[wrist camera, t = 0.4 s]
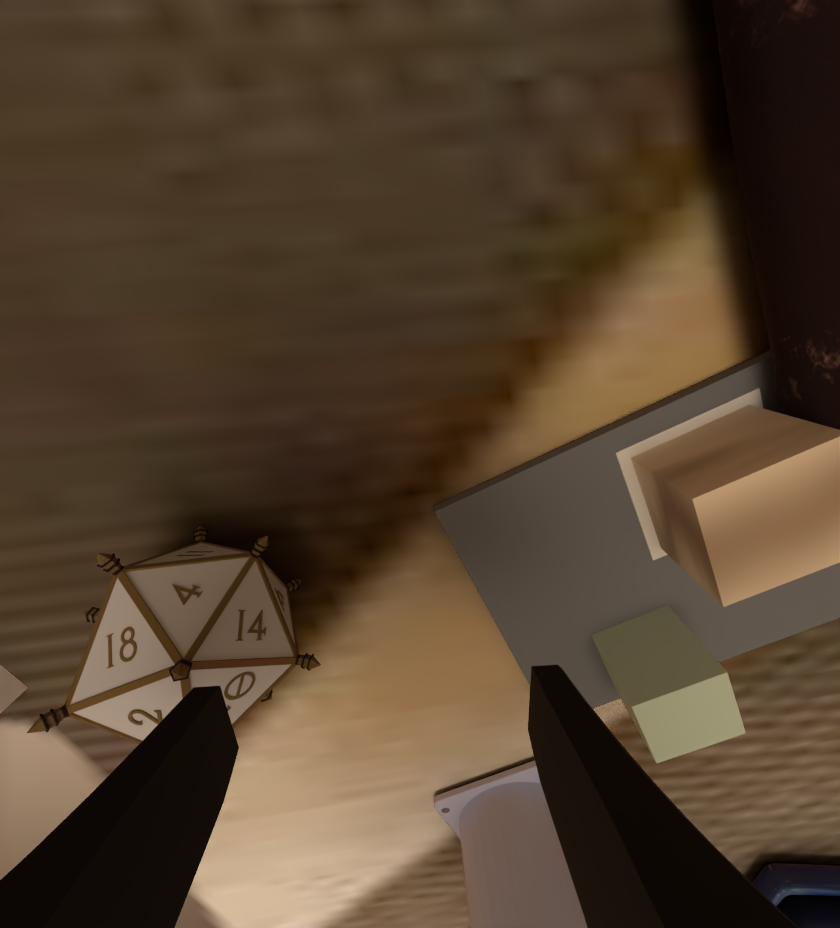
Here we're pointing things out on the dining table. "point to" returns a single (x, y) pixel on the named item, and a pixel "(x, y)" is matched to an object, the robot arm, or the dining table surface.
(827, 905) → the flower pot
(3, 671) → the milk
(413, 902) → the dining table surface
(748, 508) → the beech block
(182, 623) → the game die
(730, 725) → the sage cube
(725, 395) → the mat
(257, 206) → the dining table surface
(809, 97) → the diary
